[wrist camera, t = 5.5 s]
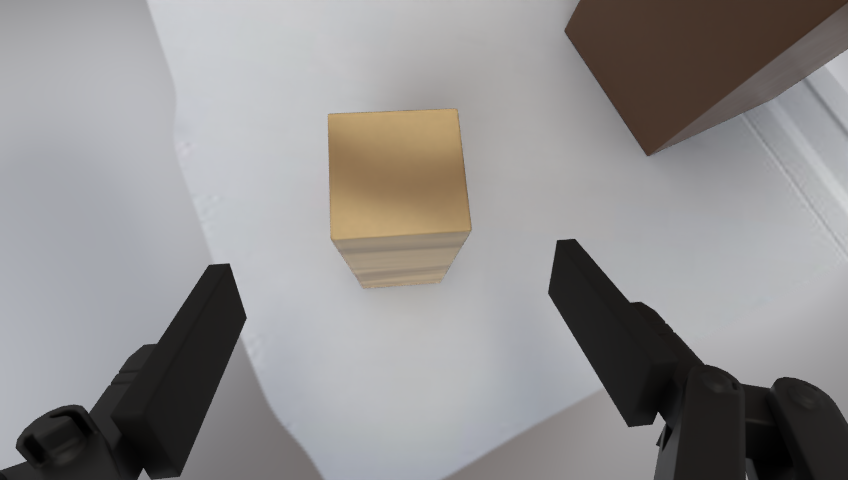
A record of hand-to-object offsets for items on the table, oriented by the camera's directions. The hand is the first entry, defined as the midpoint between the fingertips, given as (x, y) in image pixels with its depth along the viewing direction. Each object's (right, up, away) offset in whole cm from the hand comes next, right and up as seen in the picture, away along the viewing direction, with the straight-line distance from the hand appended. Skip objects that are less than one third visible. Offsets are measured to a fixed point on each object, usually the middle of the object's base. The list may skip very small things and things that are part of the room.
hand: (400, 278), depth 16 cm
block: (-1, +1, +10) cm, 10 cm away
